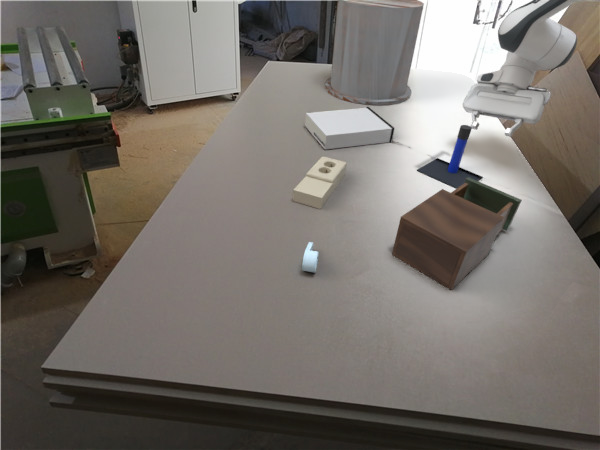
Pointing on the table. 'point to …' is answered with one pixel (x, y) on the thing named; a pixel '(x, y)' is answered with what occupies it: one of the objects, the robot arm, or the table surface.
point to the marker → (459, 148)
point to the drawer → (490, 200)
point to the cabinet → (446, 237)
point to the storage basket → (374, 50)
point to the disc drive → (348, 128)
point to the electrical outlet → (320, 182)
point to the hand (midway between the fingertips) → (490, 132)
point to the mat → (447, 173)
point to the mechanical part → (310, 259)
